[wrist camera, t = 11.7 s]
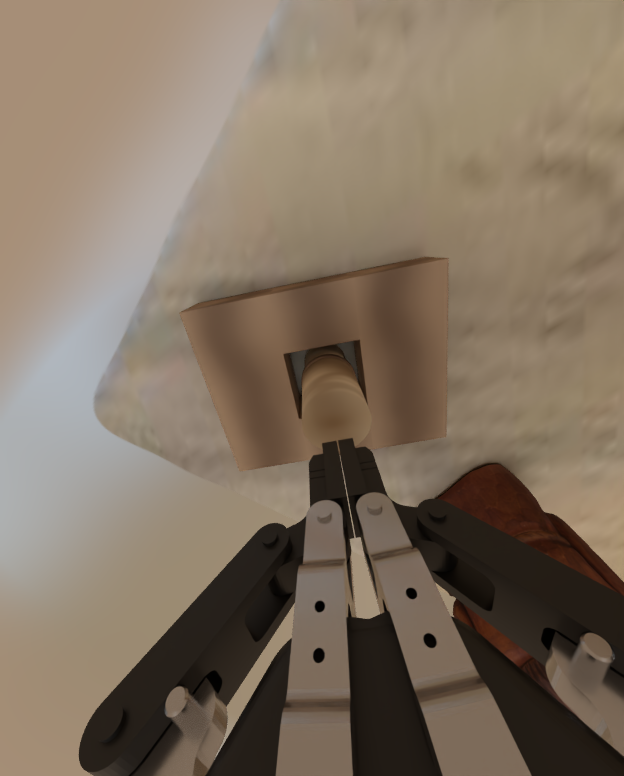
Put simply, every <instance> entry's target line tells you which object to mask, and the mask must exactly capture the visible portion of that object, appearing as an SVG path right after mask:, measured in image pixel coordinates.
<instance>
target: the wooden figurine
mask: <svg viewBox="0 0 624 776" xmlns="http://www.w3.org/2000/svg"><path fill="white" fill-rule="evenodd" d="M438 499H440V500H444V501H446V502H448V503H450V504H452V505H454V506H456V507H457V508H459V509H461V510H463V511H465V512H467V513H469V514H471V515H472V516H474V517H476V518H478V519H480V520H482V521H484V522H486V523H488V524H489V525H491V526H493V527H495V528H497V529H499V530H501V531H503V532H504V533H506V534H508V535H510V536H512V537H514V538H516V539H518V540H520V541H521V542H523V543H525V544H527V545H529V546H531V547H533V548H535V549H536V550H538V551H540V552H542V553H544V554H546V555H548V556H550V557H552V558H553V559H555V560H557V561H559V562H561V563H563V564H565V565H567V566H568V567H570V568H572V569H574V570H576V571H578V572H580V573H582V574H584V575H585V576H587V577H589V578H591V579H593V580H595V581H597V582H599V583H600V584H602V585H604V586H606V587H608V588H610V589H612V590H614V591H616V592H617V593H619V594H621V595H623V596H624V582H623V581H622V580H621V579H620V578H619V577H618V576H617V575H616V574H615V573H614V572H613V570H612V569H611V568H610V567H609V566H608V565H607V564H606V563H605V562H604V561H603V560H602V559H601V558H600V557H599V556H598V555H597V554H596V553H595V552H594V551H593V550H592V549H591V548H590V547H589V545H588V544H587V543H586V542H585V541H584V540H582V539H581V538H580V537H579V536H578V535H577V534H576V532H575V531H573V530H572V529H571V527H570V526H569V525H567V524H566V523H565V522H564V521H563V520H562V519H560V518H559V517H557V516H556V515H554V514H550V513H545V512H544V511H543V510H542V509H541V507H540V505H539V503H538V502H537V500H536V498H535V497H534V496H533V495H532V494H531V492H530V491H529V490H528V489H527V488H526V487H525V485H524V484H523V483H522V482H521V481H520V480H519V479H518V478H516V477H515V476H514V475H513V474H512V473H511V472H510V471H509V470H507V469H505V468H504V467H503V466H502V465H499V464H493V465H487V466H484V467H482V468H480V469H477V470H474V471H472V472H470V473H469V474H467V475H466V476H465V477H463V478H462V479H461V480H460V481H458V482H457V483H456V484H455V485H454V486H453V487H452V488H450V489H449V490H448V491H447V492H446V493H444V494H443V495H442V496H440V497H439V498H438ZM448 593H449V592H448ZM449 595H450V596H453V595H451V594H450V593H449ZM453 597H454V596H453ZM453 615H454V618H457V619H459V620H460V621H462V622H464V623H466V624H467V625H469V626H470V627H472V628H473V629H475V630H476V631H477V632H478V633H480V634H481V635H482V636H483V637H484V638H485V639H487V640H488V641H489V642H490V643H491V644H492V645H494V646H495V647H496V648H497V649H498V650H500V651H501V652H502V653H503V654H504V655H505V656H507V657H508V658H509V659H510V660H511V661H512V662H514V663H515V664H516V665H517V666H518V667H519V668H521V669H522V670H523V671H524V672H525V673H527V674H528V675H529V676H530V677H531V678H532V679H534V680H535V681H536V682H537V683H538V684H539V685H541V686H542V687H543V688H544V689H545V690H546V691H548V692H549V693H550V694H551V695H552V696H554V697H555V698H556V699H557V700H558V701H559V702H561V703H562V704H563V705H564V706H565V707H566V708H568V709H569V710H570V711H571V712H572V713H573V714H575V715H576V713H574V712H573V711H572V710H571V709H570V708H569V707H568V706H567V705H566V704H565V703H564V702H563V701H562V700H561V698H560V697H559V696H558V695H557V693H556V692H555V691H554V689H553V687H552V685H551V684H550V681H549V679H548V676H547V673H546V667H545V666H544V665H543V664H541V663H540V662H539V661H537V660H536V659H535V658H534V657H532V656H531V655H530V654H528V653H527V652H526V651H524V650H523V649H522V648H520V647H519V646H518V645H517V644H515V643H514V642H513V641H511V640H510V639H509V638H507V637H506V636H505V635H503V634H502V633H501V632H500V631H498V630H497V629H496V628H494V627H493V626H492V625H490V624H489V623H488V622H486V621H485V620H484V619H483V618H481V617H480V616H479V615H477V614H476V613H475V612H473V611H472V610H471V609H470V608H468V607H467V606H466V605H464V604H463V603H462V602H460V601H459V600H458V599H456V600H455V602H454V605H453ZM576 716H577V715H576ZM577 717H578V716H577ZM578 718H579V717H578ZM579 719H580V718H579Z"/></svg>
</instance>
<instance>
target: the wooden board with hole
mask: <svg viewBox="0 0 624 776" xmlns="http://www.w3.org/2000/svg"><path fill="white" fill-rule="evenodd" d="M180 316H181V319H182V321H183V324H184V327H185V329H186V332H187V334H188V337H189V340H190V342H191V345H192V348H193V350H194V353H195V355H196V358H197V361H198V363H199V366H200V369H201V371H202V374H203V376H204V379H205V382H206V384H207V387H208V390H209V392H210V395H211V397H212V400H213V403H214V405H215V408H216V411H217V413H218V416H219V418H220V421H221V424H222V426H223V429H224V432H225V434H226V437H227V439H228V442H229V445H230V447H231V450H232V453H233V455H234V458H235V460H236V463H237V466H238V468H239V471H245V470H251V469H257V468H263V467H269V466H275V465H281V464H287V463H293V462H299V461H305V460H311V458H312V456H313V455H318V454H323V450H322V449H320V448H318V447H316V446H314V445H313V444H312V443H310V442H309V440H308V439H307V438H306V436H305V434H304V432H303V429H302V396H299V391H298V387H297V383H296V379H295V374H294V370H293V366H292V361H291V357H290V353H291V352H296V351H302V350H307V349H312V348H317V347H323V346H328V345H333V344H339V343H344V342H349V341H354V348H355V356H356V363H357V371H358V379H359V386H360V388H361V390H362V393H363V395H364V398H365V400H366V403H367V405H368V407H369V410H370V413H371V417H372V423H371V428H370V431H369V433H368V434H367V436H366V437H365V439H364V440H363V441H362V442H361V443H359V444H358V445H356V446H355V448H359V447H364V446H366V447H367V448H368V449H369V450H371V449H377V448H383V447H389V446H395V445H401V444H407V443H413V442H419V441H425V440H431V439H437V438H443V437H446V424H447V340H448V258H434V257H423V258H418V259H413V260H408V261H403V262H398V263H393V264H388V265H383V266H378V267H373V268H369V269H364V270H359V271H354V272H349V273H344V274H339V275H334V276H329V277H324V278H319V279H314V280H310V281H305V282H300V283H295V284H290V285H285V286H280V287H275V288H270V289H265V290H260V291H256V292H251V293H246V294H241V295H236V296H231V297H226V298H221V299H216V300H211V301H206V302H202V303H198V304H196V305H194V306H192V307H190V308H188V309H186V310H184V311H182V312H180ZM339 455H340V451H339Z"/></svg>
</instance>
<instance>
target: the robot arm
mask: <svg viewBox="0 0 624 776" xmlns="http://www.w3.org/2000/svg"><path fill="white" fill-rule="evenodd" d="M338 444H339V449H340V455H341V460H342V466H343V471H344V477H345V482H346V487H347V493H348V498H349V503H350V509H351V514H352V520H353V525H354V530H355V536H356V538H357V537H361V541H362V546H363V551H364V557H365V560H366V564H367V567H368V571H369V574H370V578H371V581H372V585H373V588H374V592H375V595H376V599H377V602H378V606H379V610H380V615H377V616H375V617H373V618H371V619H362V618H356V611H355V599H354V586H353V574H352V561H351V545H350V539H351V538H354V534H353V528H352V523H351V517H350V512H349V506H348V500H347V495H346V489H345V484H344V478H343V473H342V467H341V462H340V456H339V451H338V445H337V441H331V442H325V443H322V448H323V454H318V455H313V456H312V458H311V460H310V462H309V478H310V508H309V510H308V512H307V516H306V517H305V518H304V519H303V520H302V521H300V522H299V523H297V524H295V525H293V526H291V527H289V528H286V527H285V526H284V525H282V524H278V523H272V524H268V525H266V526H264V527H262V528H261V529H260V530H258V531H257V533H256V534H255V535H254V536H253V537H252V538H251V539H250V540H249V541H248V542H247V544H246V545H245V546H244V547H243V548H242V549H241V550H240V551H239V553H237V555H236V556H235V557H234V558H233V559H232V560H231V561H230V562H229V563H228V564H227V566H226V567H225V568H224V569H223V570H222V571H221V572H220V574H218V576H217V577H216V578H215V579H214V580H213V581H212V582H211V583H210V584H209V585H208V587H207V588H206V589H205V590H204V591H203V592H202V593H201V594H200V595H199V596H198V598H197V599H196V600H195V601H194V602H193V603H192V604H191V605H190V607H189V608H188V609H187V610H186V611H185V612H184V613H183V614H182V615H181V616H180V617H179V619H178V620H177V621H176V622H175V623H174V624H173V625H172V626H171V627H170V628H169V630H168V631H167V632H166V633H165V634H164V635H163V636H162V637H161V639H159V641H158V642H157V643H156V644H155V645H154V646H153V647H152V648H151V649H150V650H149V652H148V653H147V654H146V655H145V656H144V657H143V658H142V659H141V660H140V662H139V663H138V664H137V665H136V666H135V667H134V668H133V669H132V670H131V671H130V673H129V674H128V675H127V676H126V677H125V678H124V679H123V680H122V681H121V683H120V684H119V685H118V686H117V687H116V688H115V689H114V690H113V691H112V692H111V694H110V695H109V696H108V697H107V698H106V699H105V700H104V701H103V702H102V703H101V705H100V706H99V707H98V708H97V710H96V711H95V713H94V714H93V715H92V717H91V719H90V720H89V722H88V724H87V726H86V728H85V731H84V733H83V736H82V739H81V742H80V748H79V761H80V764H81V766H82V768H83V769H84V770H86V771H87V772H89V773H90V774H92V775H94V776H624V596H623V595H621V594H619V593H617V592H616V591H614V590H612V589H610V588H608V587H606V586H604V585H602V584H600V583H599V582H597V581H595V580H593V579H591V578H589V577H587V576H585V575H584V574H582V573H580V572H578V571H576V570H574V569H572V568H570V567H568V566H567V565H565V564H563V563H561V562H559V561H557V560H555V559H553V558H552V557H550V556H548V555H546V554H544V553H542V552H540V551H538V550H536V549H535V548H533V547H531V546H529V545H527V544H525V543H523V542H521V541H520V540H518V539H516V538H514V537H512V536H510V535H508V534H506V533H504V532H503V531H501V530H499V529H497V528H495V527H493V526H491V525H489V524H488V523H486V522H484V521H482V520H480V519H478V518H476V517H474V516H472V515H471V514H469V513H467V512H465V511H463V510H461V509H459V508H457V507H456V506H454V505H452V504H450V503H448V502H446V501H444V500H440V499H427V500H425V501H423V502H421V503H420V504H419V506H418V507H408V506H403V505H400V504H397V503H395V502H394V501H392V500H391V499H390V498H389V497H388V495H387V493H386V491H385V488H384V485H383V482H382V479H381V476H380V473H379V470H378V468H377V465H376V462H375V459H374V456H373V453H372V452H371V451H370V450H369V449H368V448H367V447H366V446H364V447H359V448H355V445H354V441H353V438H348V439H342V440H338ZM435 582H436V583H437V584H438V585H439V586H441V587H442V588H443V589H445V590H446V591H447V592H449V593H450V594H451V595H453V596H454V597H455V598H456V599H458V600H459V601H460V602H462V603H463V604H464V605H466V606H467V607H468V608H470V609H471V610H472V611H473V612H475V613H476V614H477V615H479V616H480V617H481V618H483V619H484V620H485V621H486V622H488V623H489V624H490V625H492V626H493V627H494V628H496V629H497V630H498V631H500V632H501V633H502V634H503V635H505V636H506V637H507V638H509V639H510V640H511V641H513V642H514V643H515V644H517V645H518V646H519V647H520V648H522V649H523V650H524V651H526V652H527V653H528V654H530V655H531V656H532V657H534V658H535V659H536V660H537V661H539V662H540V663H541V664H543V665H544V666H545V667H546V673H547V676H548V679H549V681H550V684H551V685H552V687H553V689H554V691H555V692H556V693H557V695H558V696H559V697H560V698H561V700H562V701H563V702H564V703H565V704H566V705H567V706H568V707H569V708H570V709H571V710H572V711H573V712H574V713H576V715H577V716H578V717H579V718H580V719H579V718H578V717H577V716H576V715H575V714H573V713H572V712H571V711H570V710H569V709H568V708H566V707H565V706H564V705H563V704H562V703H561V702H559V701H558V700H557V699H556V698H555V697H554V696H552V695H551V694H550V693H549V692H548V691H546V690H545V689H544V688H543V687H542V686H541V685H539V684H538V683H537V682H536V681H535V680H534V679H532V678H531V677H530V676H529V675H528V674H527V673H525V672H524V671H523V670H522V669H521V668H519V667H518V666H517V665H516V664H515V663H514V662H512V661H511V660H510V659H509V658H508V657H507V656H505V655H504V654H503V653H502V652H501V651H500V650H498V649H497V648H496V647H495V646H494V645H492V644H491V643H490V642H489V641H488V640H487V639H485V638H484V637H483V636H482V635H481V634H480V633H478V632H477V631H476V630H475V629H473V628H472V627H470V626H469V625H467V624H466V623H464V622H462V621H460V620H459V619H457V618H454V617H451V616H450V614H449V612H448V610H447V608H446V606H445V603H444V601H443V599H442V597H441V595H440V593H439V591H438V589H437V587H436V584H435ZM294 603H295V609H294V620H293V632H292V638H291V639H290V640H289V641H288V642H287V643H286V644H285V645H284V646H283V647H282V648H281V649H280V651H279V652H278V653H277V655H276V656H275V657H274V659H273V661H272V662H271V664H270V666H269V667H268V669H267V671H266V673H265V674H264V676H263V678H262V679H261V681H260V683H259V685H258V686H257V688H256V690H255V691H254V693H253V695H252V697H251V699H250V700H249V702H248V703H247V705H246V707H245V709H244V710H243V712H242V714H241V716H240V717H239V719H238V721H237V722H236V724H235V726H234V727H233V729H232V731H231V733H230V734H229V736H228V738H227V739H226V741H225V743H224V745H223V746H222V748H221V750H220V752H219V753H218V755H217V757H216V758H215V756H216V754H217V752H218V750H219V748H220V746H221V744H222V742H223V739H224V737H225V733H226V729H227V719H228V716H227V708H226V706H227V705H228V703H229V702H230V700H231V699H232V697H233V696H234V694H235V693H236V691H237V690H238V688H239V687H240V685H241V684H242V682H243V681H244V679H245V678H246V676H247V674H248V673H249V671H250V670H251V668H252V667H253V665H254V664H255V662H256V661H257V659H258V658H259V656H260V655H261V653H262V652H263V650H264V649H265V647H266V646H267V644H268V642H269V641H270V639H271V638H272V636H273V635H274V633H275V632H276V630H277V629H278V627H279V626H280V624H281V623H282V621H283V620H284V618H285V617H286V615H287V614H288V612H289V610H290V609H291V607H292V606H293V604H294ZM214 759H215V760H214Z"/></svg>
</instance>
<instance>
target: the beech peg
mask: <svg viewBox="0 0 624 776" xmlns="http://www.w3.org/2000/svg"><path fill="white" fill-rule="evenodd" d="M371 423H372V417H371V413H370V410H369V407H368V405H367V403H366V400H365V398H364V395H363V393H362V390H361V388H360V386H359V383H358V381H357V378H356V375H355V372H354V369H353V367H352V366H351V364H350V363H349V362H348V361H347V360H346V358H345V356H344V353H343V351H342V350H341V349H340V348H339V347H338V346H336V345H335V344H333V345H328V346H323V347H317V348H312V349H310V350H309V351H308V352H307V354H306V357H305V368H304V370H303V373H302V429H303V432H304V434H305V436H306V438H307V439H308V440H309V442H310V443H312V444H313V445H314V446H316V447H318V448H320V449H322V450H323V448H322V443H325V442H331V441H337V445H338V451H340V449H339V444H338V440H342V439H348V438H353V441H354V445H355V446H356V445H358V444H359V443H361V442H362V441H363V440H364V439H365V437H366V436H367V434H368V433H369V431H370V428H371Z"/></svg>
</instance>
